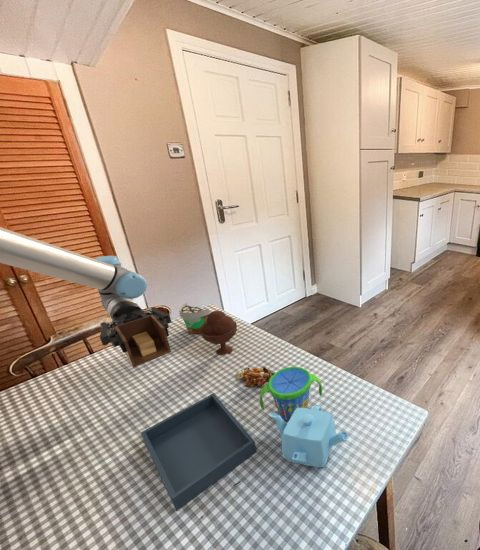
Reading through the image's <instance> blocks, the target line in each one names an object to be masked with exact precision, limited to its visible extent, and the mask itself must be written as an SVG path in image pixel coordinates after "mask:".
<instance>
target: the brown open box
mask: <svg viewBox="0 0 480 550" xmlns="http://www.w3.org/2000/svg"><path fill="white" fill-rule="evenodd" d="M114 328H115V329H116V331H117V333H118V334H119V336H120V337H121V339H122V340H123V342H124V344H125V347H126V350H127V352H124V353H123V354H124V355H125V356H126V358H127V359H128V361H129V363H130V365H131V366H132V368H136V367H138V366H140V365H143V364H146V363H149V362H151V361H154V360H155V359H158V358H161V357H162V356H165V355H168V354H170V353H172V349H171V345H170V343H169V339H168V336H167V335H166V332H165V328H164V327H163V326H162V325H161V324H160V322H159V321H158V320H157V319H156V318H155V317H154V316H153V315H149V316H146V317H143V318H140V319H137V320H133V321H130V322H127V323H124V324H121V325H118V326H115V327H114ZM143 332H147V333H148V335H149V336H150V337H151V338H152V340H153V341H154V344H155V347H156V350H157V351H156V352H153V353H151V354H148V355H146V356H143V357H142V355H141V354H140V352H139V351H138V349H137V348H136V346H135V343H134V340H133V337H132V336H135V335H137V334H140V333H143Z"/></svg>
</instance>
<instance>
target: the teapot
mask: <svg viewBox="0 0 480 550" xmlns="http://www.w3.org/2000/svg"><path fill="white" fill-rule="evenodd" d="M269 416H270V417H271V418H272V419H273V420H274V421H275V422H276V424H277V428H278V432H279V434H280V436H281V438H282V439H281V452H282V456H283V457H284V459H285V460H287V461H289V462H291V463H293V464H299V465H304V466H309V467H313V468H315V469H319V468H323V467H325V466H326V464H327V461H328V459H329V457H330V453H331V451H332V449H333V447H334V446H336V445H339V444H340V443H343V442H345V441H347V440H348V438H349V435H348V432H347V431H346V430H342V431H340V432H338V433H336V432H337V430H336V423H335V419H334V416H333V414H332V413H331V412H327V411H325V410H324V411H323V410H322V407H321V406H320V405H314V406H313V408H309V407H308V408H296V410H295V411H294V413H293V415H292V416H291V418H290V420H289V421H286V420H285V419H283V418H282V417H281V416H280V415H279V413H276V412H270V413H269Z"/></svg>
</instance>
